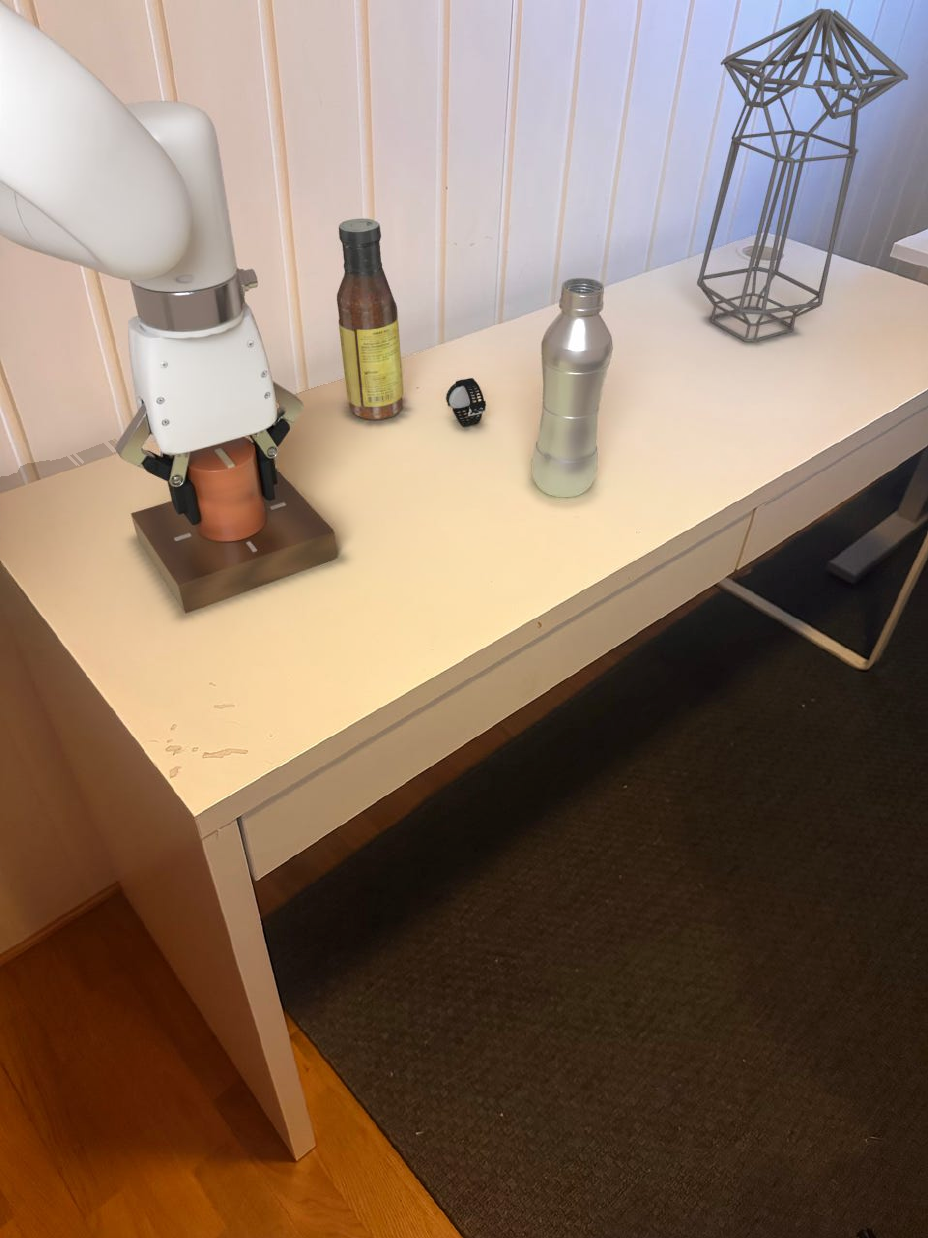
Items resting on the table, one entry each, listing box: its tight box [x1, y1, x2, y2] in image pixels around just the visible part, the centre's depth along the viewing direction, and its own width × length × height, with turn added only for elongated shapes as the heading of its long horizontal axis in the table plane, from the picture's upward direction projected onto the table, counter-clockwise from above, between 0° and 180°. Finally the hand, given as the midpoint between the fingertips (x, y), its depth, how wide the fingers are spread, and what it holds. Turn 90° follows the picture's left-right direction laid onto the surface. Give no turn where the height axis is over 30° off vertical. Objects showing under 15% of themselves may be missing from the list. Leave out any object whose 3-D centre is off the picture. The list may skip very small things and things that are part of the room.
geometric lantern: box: [696, 7, 909, 343], centre depth 107 cm, size 16×16×35 cm
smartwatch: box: [445, 377, 487, 428], centre depth 96 cm, size 4×5×5 cm
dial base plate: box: [130, 468, 338, 614], centre depth 79 cm, size 14×12×3 cm
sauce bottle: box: [336, 218, 404, 421], centre depth 93 cm, size 7×6×20 cm
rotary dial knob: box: [186, 436, 266, 542], centre depth 76 cm, size 6×6×7 cm
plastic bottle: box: [530, 277, 614, 498], centre depth 82 cm, size 6×7×20 cm
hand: (227, 502), depth 77 cm, fingers closed on rotary dial knob, 6 cm apart
